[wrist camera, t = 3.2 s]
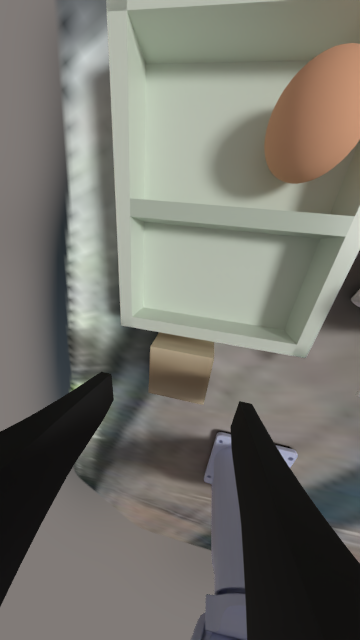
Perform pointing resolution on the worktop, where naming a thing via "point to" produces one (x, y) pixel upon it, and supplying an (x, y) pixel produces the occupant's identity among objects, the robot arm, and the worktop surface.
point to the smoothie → (359, 301)
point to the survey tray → (224, 172)
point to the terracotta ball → (316, 117)
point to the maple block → (180, 367)
